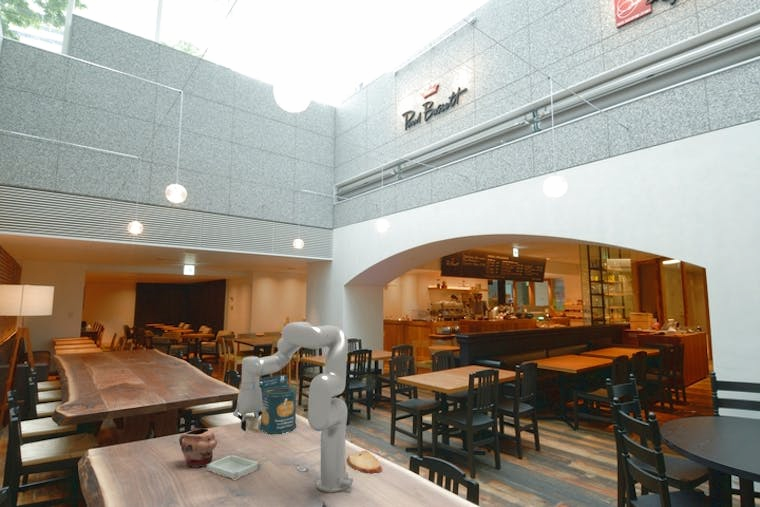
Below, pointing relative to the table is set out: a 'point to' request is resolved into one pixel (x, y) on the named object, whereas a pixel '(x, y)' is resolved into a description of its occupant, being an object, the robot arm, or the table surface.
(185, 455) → the decorative planter
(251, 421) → the birch block
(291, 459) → the table surface
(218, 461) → the tray
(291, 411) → the donation box
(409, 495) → the table surface
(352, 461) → the tan flat crusted slab
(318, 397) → the robot arm
